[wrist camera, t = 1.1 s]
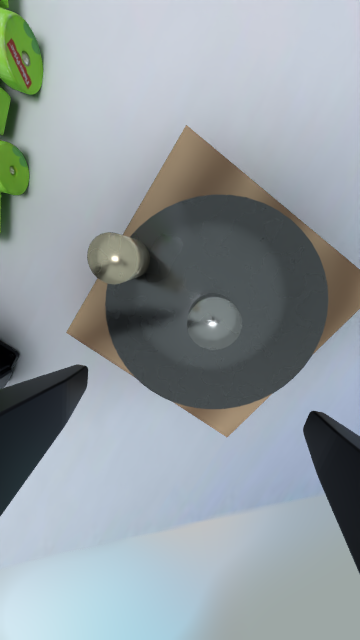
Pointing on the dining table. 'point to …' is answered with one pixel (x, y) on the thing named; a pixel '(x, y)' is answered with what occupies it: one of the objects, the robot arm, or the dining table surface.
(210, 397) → the handwheel
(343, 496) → the robot arm
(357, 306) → the wheel base
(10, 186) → the toy crocodile
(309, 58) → the dining table surface
